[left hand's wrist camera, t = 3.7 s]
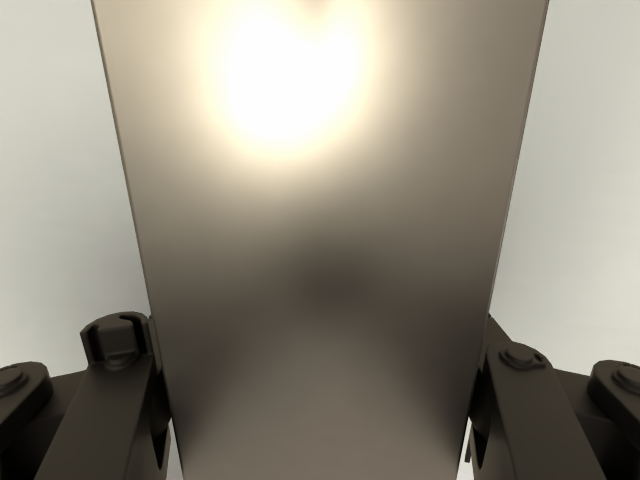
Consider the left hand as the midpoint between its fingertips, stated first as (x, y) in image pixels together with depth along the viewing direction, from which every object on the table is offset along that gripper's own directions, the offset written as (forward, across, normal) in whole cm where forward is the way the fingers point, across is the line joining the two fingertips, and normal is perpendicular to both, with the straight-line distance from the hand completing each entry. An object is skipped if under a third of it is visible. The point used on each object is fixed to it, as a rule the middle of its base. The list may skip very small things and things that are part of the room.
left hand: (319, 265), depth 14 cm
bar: (+1, 0, -8) cm, 8 cm away
